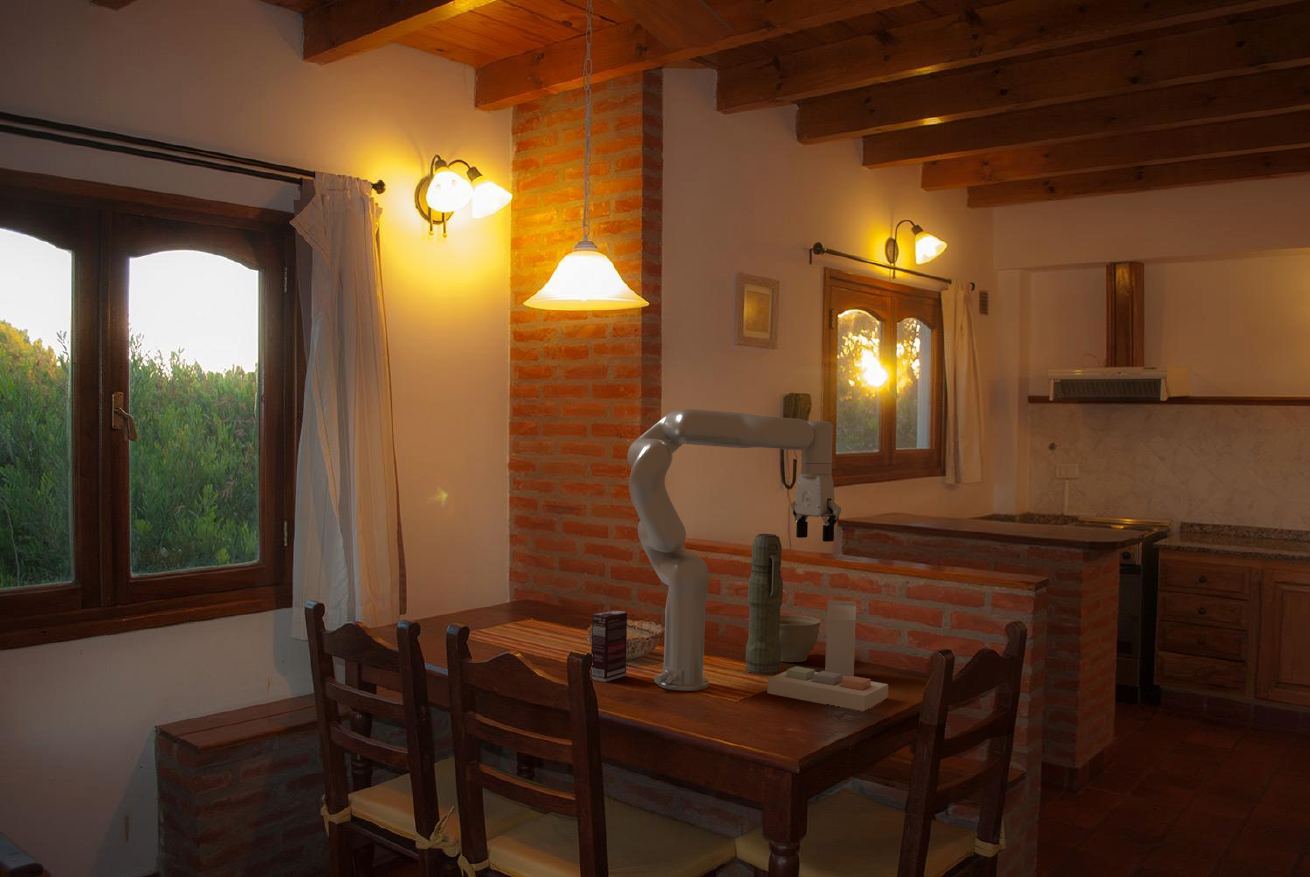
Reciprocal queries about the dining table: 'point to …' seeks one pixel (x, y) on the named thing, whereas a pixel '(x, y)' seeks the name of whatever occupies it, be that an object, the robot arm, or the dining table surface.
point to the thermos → (764, 606)
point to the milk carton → (840, 637)
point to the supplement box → (609, 645)
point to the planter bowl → (797, 637)
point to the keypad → (827, 692)
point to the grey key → (827, 678)
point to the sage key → (800, 673)
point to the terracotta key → (856, 683)
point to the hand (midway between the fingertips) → (814, 539)
